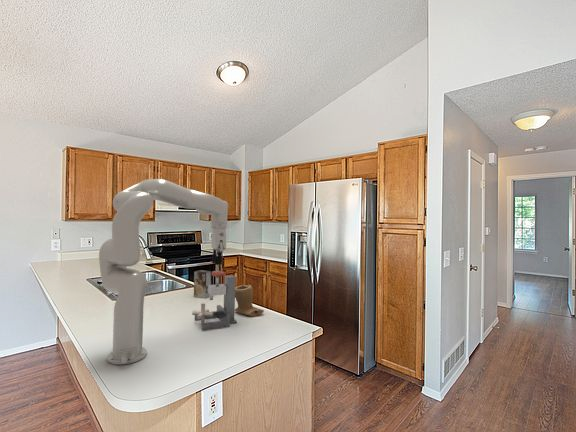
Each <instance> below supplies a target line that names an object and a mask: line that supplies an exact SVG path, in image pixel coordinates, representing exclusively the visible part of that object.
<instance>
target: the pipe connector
mask: <svg viewBox="0 0 576 432" xmlns="http://www.w3.org/2000/svg"><path fill="white" fill-rule="evenodd" d="M213 314H214V313H213V311H210V309H208V308H207V309H206V303H205V302H201V303H200V311H198V310H193V311H192V313H191V315H193V316H195V315H197V316H196V318H197V319H200V318H201V320H200V326H202V323H206V322H205V321H206V319H205V316H213Z"/></svg>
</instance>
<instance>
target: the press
mask: <svg viewBox="0 0 576 432" xmlns="http://www.w3.org/2000/svg"><path fill="white" fill-rule="evenodd" d="M236 281H237V280H236V276H235V275H233V274H231V275H224V283H223V284H224V285H225V286H226V294H225V295H223V306H222V305H220V304H217V305H216V310H214V311H212V312H213V313H214V314H213V316H205V320H211V319H217V320H214V321H207V322H205V323H202V325H201V331H202V332H206V331H212V330H218V329H224V328H225V329H226V328H229V327H230V326H231V325H235V324H237V323H238V320H236V318H235V313H236V311H235V309H236V307H235V306H236V298H235V288H236ZM196 316H197V315H194V321H196V322H197V321H201V318H200V319H197V318H196Z"/></svg>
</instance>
